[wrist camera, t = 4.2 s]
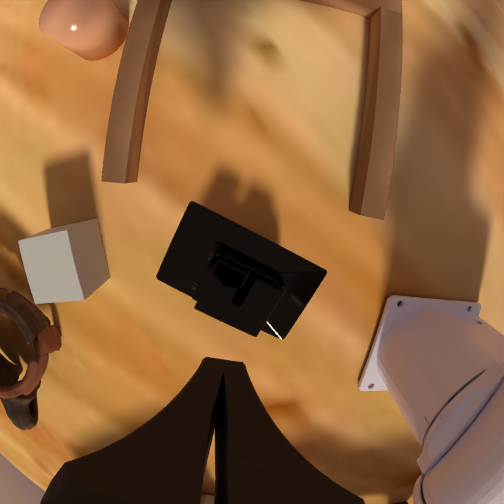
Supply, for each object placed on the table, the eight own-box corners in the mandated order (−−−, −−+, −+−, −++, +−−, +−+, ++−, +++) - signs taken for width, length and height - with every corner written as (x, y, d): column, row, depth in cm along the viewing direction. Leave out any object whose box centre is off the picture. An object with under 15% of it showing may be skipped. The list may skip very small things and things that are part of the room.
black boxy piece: (348, 268, 20) (374, 295, 16) (292, 353, 22) (302, 394, 17) (176, 177, 18) (155, 180, 14) (131, 277, 20) (105, 306, 16)
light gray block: (97, 218, 18) (67, 230, 15) (110, 276, 20) (84, 300, 16) (51, 227, 19) (17, 240, 15) (65, 282, 20) (35, 303, 16)
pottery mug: (-26, 294, 20) (-67, 296, 13) (56, 276, 24) (34, 272, 17) (10, 414, 20) (-15, 450, 13) (91, 400, 24) (86, 439, 17)
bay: (390, 9, 15) (401, -3, 13) (370, 214, 19) (383, 219, 17) (159, -25, 14) (152, -39, 12) (115, 180, 18) (101, 181, 16)
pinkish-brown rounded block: (134, 8, 15) (108, -27, 10) (121, 58, 16) (87, 31, 11) (85, 15, 15) (51, -14, 10) (70, 63, 16) (30, 42, 11)
